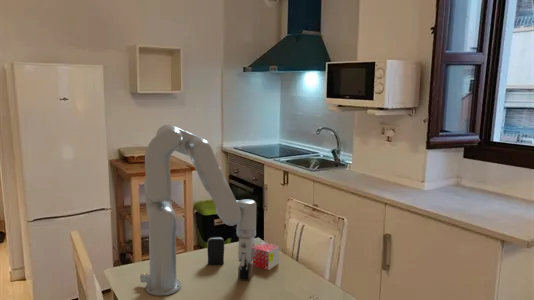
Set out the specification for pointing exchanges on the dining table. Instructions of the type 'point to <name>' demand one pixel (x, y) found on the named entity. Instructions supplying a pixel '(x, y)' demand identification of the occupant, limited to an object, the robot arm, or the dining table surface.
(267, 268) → the puzzle cube
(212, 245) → the battery charger
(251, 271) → the walnut block
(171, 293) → the robot arm
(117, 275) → the dining table surface
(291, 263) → the dining table surface
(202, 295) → the dining table surface
